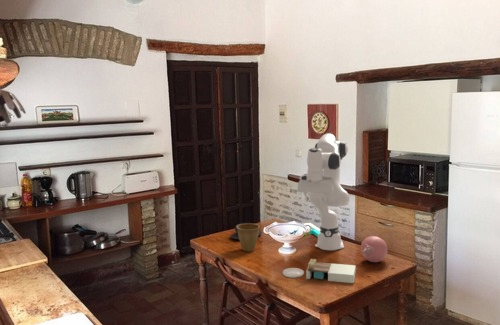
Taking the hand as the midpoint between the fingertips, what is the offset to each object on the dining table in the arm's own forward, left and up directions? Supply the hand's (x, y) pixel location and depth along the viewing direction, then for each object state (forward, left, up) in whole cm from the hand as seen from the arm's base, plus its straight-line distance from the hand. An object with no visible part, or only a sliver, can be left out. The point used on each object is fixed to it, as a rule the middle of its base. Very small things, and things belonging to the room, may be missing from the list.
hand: (315, 200), depth 258 cm
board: (+11, +10, -40) cm, 43 cm away
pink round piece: (-14, +31, -40) cm, 53 cm away
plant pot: (-20, -48, -40) cm, 66 cm away
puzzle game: (-61, -22, -41) cm, 77 cm away
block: (+14, +4, -40) cm, 43 cm away
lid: (+13, +4, -35) cm, 38 cm away
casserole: (-46, -58, -41) cm, 85 cm away
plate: (+13, -11, -40) cm, 44 cm away
